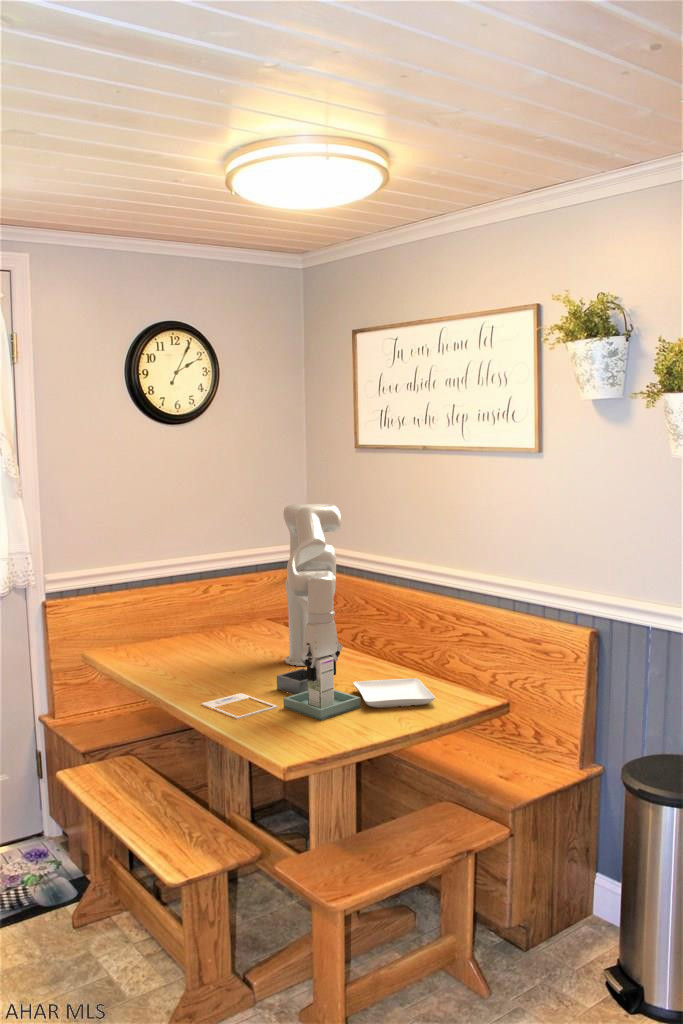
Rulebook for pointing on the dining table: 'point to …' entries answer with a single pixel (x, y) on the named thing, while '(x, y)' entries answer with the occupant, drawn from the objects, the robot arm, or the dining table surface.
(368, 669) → the dining table surface
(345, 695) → the tray
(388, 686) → the salad plate
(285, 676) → the sleeve
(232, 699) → the photo frame
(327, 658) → the syrup box
